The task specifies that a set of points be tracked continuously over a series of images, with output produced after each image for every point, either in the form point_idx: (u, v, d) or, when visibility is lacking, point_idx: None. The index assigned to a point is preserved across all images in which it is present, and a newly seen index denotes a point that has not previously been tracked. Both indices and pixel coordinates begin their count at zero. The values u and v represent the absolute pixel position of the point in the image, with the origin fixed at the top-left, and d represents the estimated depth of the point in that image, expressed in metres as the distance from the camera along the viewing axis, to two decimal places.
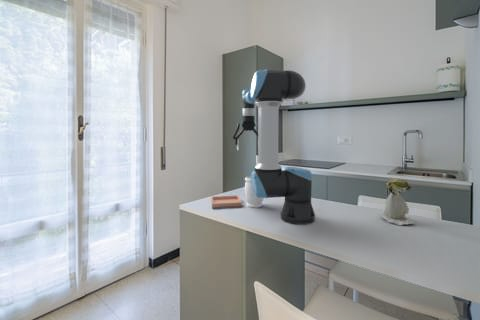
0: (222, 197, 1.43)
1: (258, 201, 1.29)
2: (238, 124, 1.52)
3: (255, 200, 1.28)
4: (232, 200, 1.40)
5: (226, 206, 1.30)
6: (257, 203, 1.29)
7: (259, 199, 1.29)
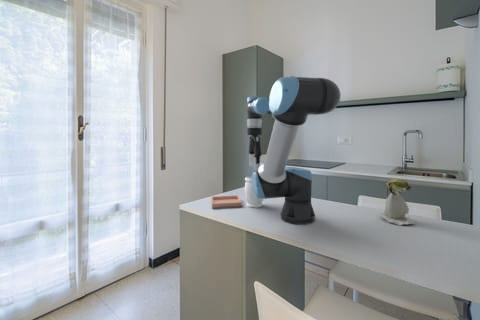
0: (222, 197, 1.43)
1: (258, 201, 1.29)
2: None
3: (255, 200, 1.28)
4: (232, 200, 1.40)
5: (226, 206, 1.30)
6: (257, 203, 1.29)
7: (259, 199, 1.29)
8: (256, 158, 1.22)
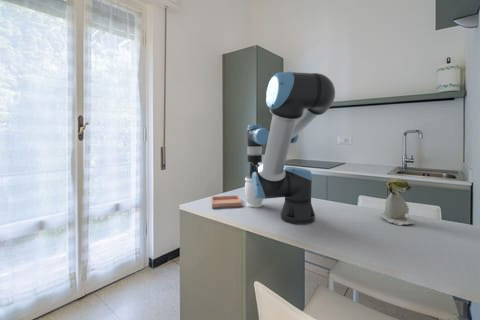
0: (222, 197, 1.43)
1: (258, 201, 1.29)
2: (250, 164, 1.37)
3: (255, 200, 1.28)
4: (232, 200, 1.40)
5: (226, 206, 1.30)
6: (257, 203, 1.29)
7: (259, 199, 1.29)
8: None
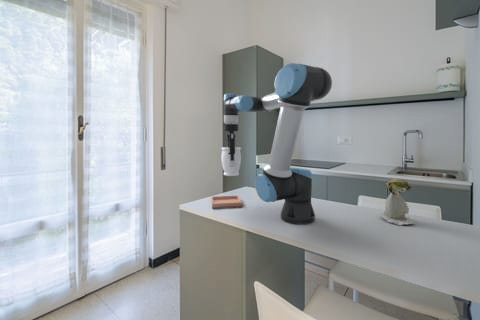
0: (222, 197, 1.43)
1: (234, 170, 1.31)
2: None
3: (230, 168, 1.30)
4: (232, 200, 1.40)
5: (226, 206, 1.30)
6: (233, 172, 1.31)
7: (235, 168, 1.30)
8: (230, 155, 1.27)
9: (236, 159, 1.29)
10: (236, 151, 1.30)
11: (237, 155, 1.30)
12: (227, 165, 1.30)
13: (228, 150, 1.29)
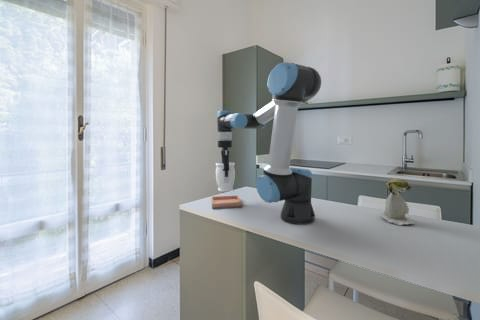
0: (222, 197, 1.43)
1: (228, 185, 1.32)
2: None
3: (225, 184, 1.31)
4: (232, 200, 1.40)
5: (226, 206, 1.30)
6: (227, 187, 1.32)
7: (229, 183, 1.32)
8: (225, 172, 1.28)
9: (230, 175, 1.31)
10: (230, 167, 1.31)
11: (231, 171, 1.31)
12: (221, 181, 1.31)
13: (222, 166, 1.30)
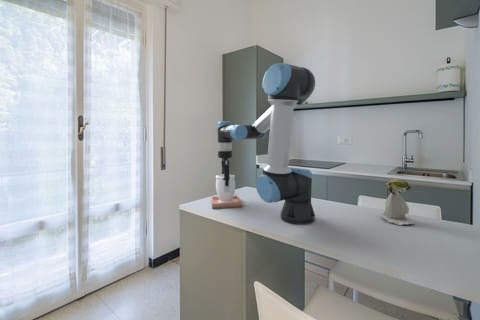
0: None
1: (228, 198, 1.33)
2: None
3: (225, 196, 1.32)
4: None
5: (226, 206, 1.30)
6: (227, 200, 1.33)
7: (229, 196, 1.32)
8: (225, 181, 1.27)
9: (230, 187, 1.32)
10: (230, 180, 1.32)
11: (231, 183, 1.32)
12: (221, 193, 1.32)
13: (222, 179, 1.31)
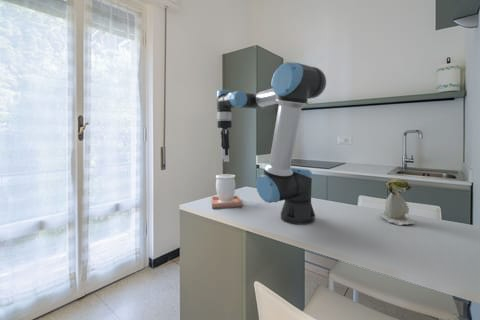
0: None
1: (228, 198, 1.33)
2: (221, 130, 1.38)
3: (225, 196, 1.32)
4: None
5: (226, 206, 1.30)
6: (227, 200, 1.33)
7: (229, 196, 1.32)
8: (225, 150, 1.25)
9: (230, 187, 1.32)
10: (230, 180, 1.32)
11: (231, 183, 1.32)
12: (222, 193, 1.32)
13: (222, 179, 1.31)
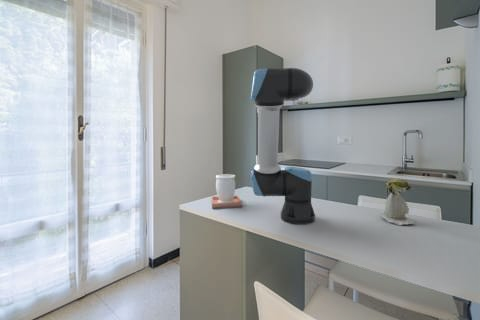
0: None
1: (228, 198, 1.33)
2: None
3: (225, 196, 1.32)
4: None
5: (226, 206, 1.30)
6: (227, 200, 1.33)
7: (229, 196, 1.32)
8: None
9: (230, 187, 1.32)
10: (230, 180, 1.32)
11: (231, 183, 1.32)
12: (222, 194, 1.32)
13: (222, 179, 1.31)
